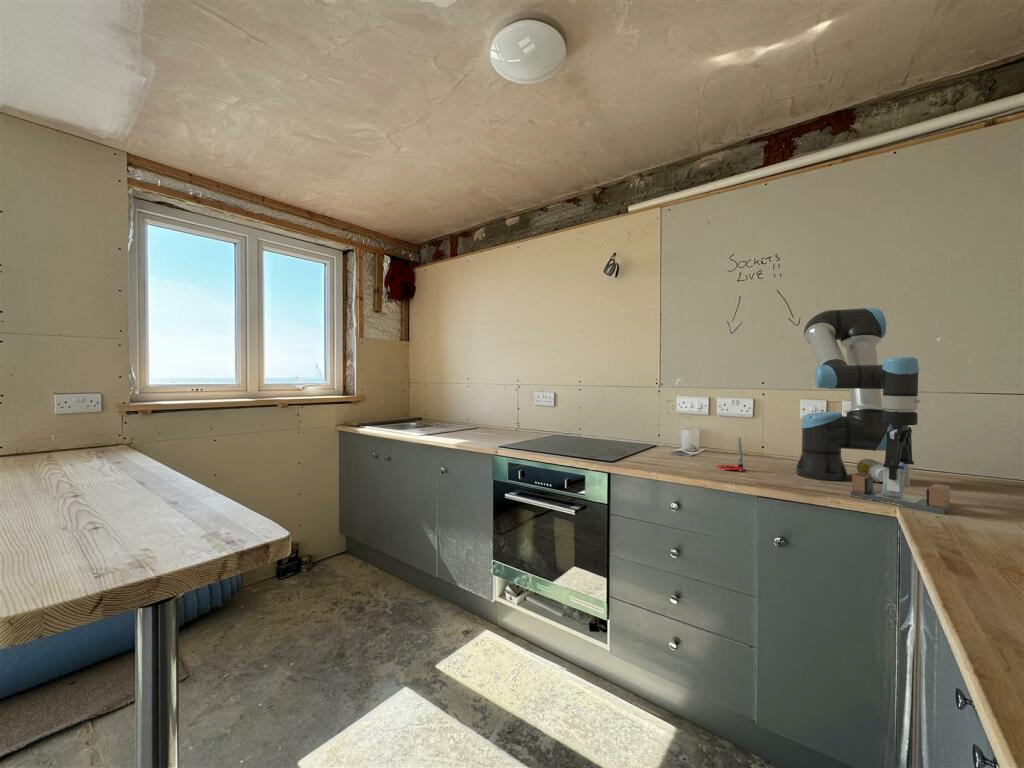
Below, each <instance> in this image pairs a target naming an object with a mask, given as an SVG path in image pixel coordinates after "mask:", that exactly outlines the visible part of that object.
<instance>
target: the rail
mask: <svg viewBox="0 0 1024 768" xmlns="http://www.w3.org/2000/svg"><path fill="white" fill-rule="evenodd" d="M851 476H852V478H851V480H852V481H851V483H852V484H851V487H852V488H851V489H852V491H850V496H851V495H854V496H859V497H863V498H867V499H872V500H877V501H884V502H890V503H895V504H900V505H903V506H906V507H905V508H908V507H910V508H909V509H913V508H914V510H919V511H924V512H928V513H929V512H930V513H935V514H940V515H945V514H946V513H947V512H948V511H950V510H951V506H952V504H951V485H943V484H939V483H934V484H932V485H931V486H929V487H928V488H926V498H923V497H917V496H911V495H907V494H903V496H896V495H890V494H884V493H883V490H882V491H881V490H877V489H874V481H873V479H874V477H872V474H867V473H861V472H857V473H854V474H852V475H851Z"/></svg>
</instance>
